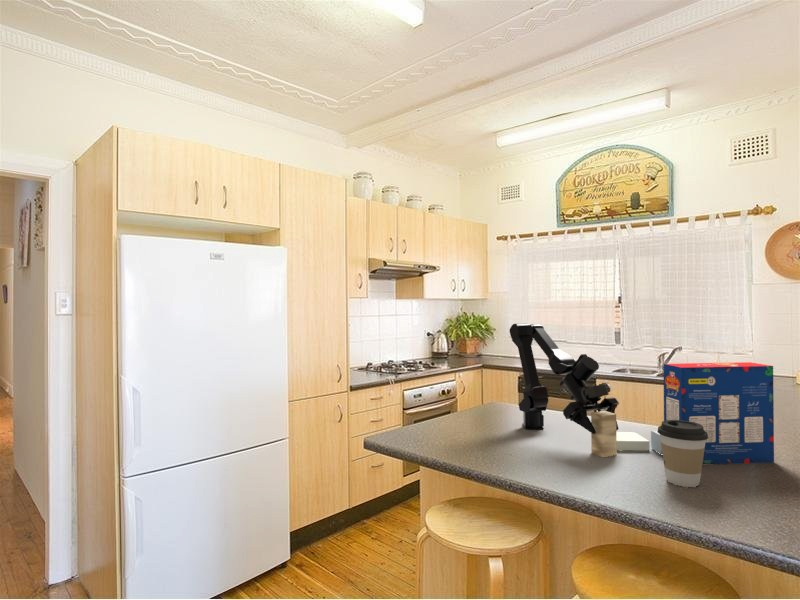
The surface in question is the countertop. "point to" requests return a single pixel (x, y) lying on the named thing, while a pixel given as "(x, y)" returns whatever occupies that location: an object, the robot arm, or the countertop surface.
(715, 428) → the pasta box
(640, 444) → the plinth
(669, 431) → the coffee cup
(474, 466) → the countertop surface
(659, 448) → the grey cube
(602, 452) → the pillar
